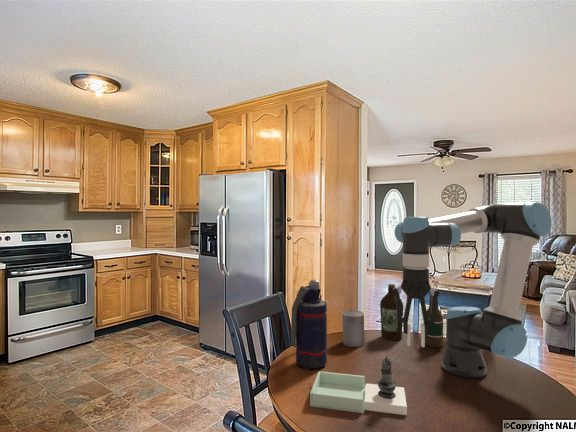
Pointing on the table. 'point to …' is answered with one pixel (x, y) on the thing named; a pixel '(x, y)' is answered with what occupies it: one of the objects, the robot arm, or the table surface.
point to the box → (338, 392)
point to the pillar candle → (353, 328)
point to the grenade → (309, 328)
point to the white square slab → (385, 401)
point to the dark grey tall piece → (386, 381)
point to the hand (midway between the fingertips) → (415, 344)
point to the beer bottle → (435, 328)
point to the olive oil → (390, 316)
